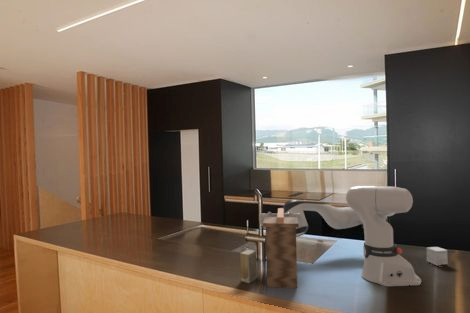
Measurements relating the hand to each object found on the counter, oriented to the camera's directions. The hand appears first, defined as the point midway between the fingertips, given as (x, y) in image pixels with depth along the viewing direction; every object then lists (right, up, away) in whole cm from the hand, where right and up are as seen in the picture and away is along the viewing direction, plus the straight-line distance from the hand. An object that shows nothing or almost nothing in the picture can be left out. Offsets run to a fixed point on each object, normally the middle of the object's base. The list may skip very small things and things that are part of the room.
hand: (280, 213), depth 143 cm
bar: (-1, 0, -8) cm, 8 cm away
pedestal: (-1, -27, -12) cm, 29 cm away
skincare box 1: (-15, -27, -9) cm, 32 cm away
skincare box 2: (+75, -25, +4) cm, 79 cm away
